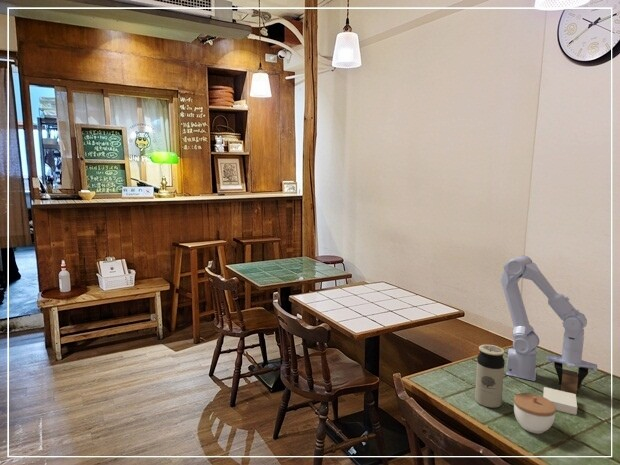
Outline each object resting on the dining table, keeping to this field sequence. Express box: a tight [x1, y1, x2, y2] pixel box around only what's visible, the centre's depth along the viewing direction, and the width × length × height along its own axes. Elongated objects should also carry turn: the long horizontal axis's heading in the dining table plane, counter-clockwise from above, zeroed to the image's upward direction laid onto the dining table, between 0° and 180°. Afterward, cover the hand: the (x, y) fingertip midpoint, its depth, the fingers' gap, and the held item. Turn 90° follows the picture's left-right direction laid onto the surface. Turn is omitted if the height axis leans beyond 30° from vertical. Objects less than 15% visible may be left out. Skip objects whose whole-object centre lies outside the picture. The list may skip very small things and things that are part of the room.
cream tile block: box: [542, 386, 578, 416], centre depth 130 cm, size 9×9×3 cm
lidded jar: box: [513, 392, 557, 435], centre depth 118 cm, size 11×11×9 cm
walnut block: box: [560, 368, 578, 395], centre depth 139 cm, size 4×4×6 cm
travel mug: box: [474, 344, 506, 409], centre depth 130 cm, size 8×8×18 cm
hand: (568, 385), depth 140 cm, fingers closed on walnut block, 4 cm apart
